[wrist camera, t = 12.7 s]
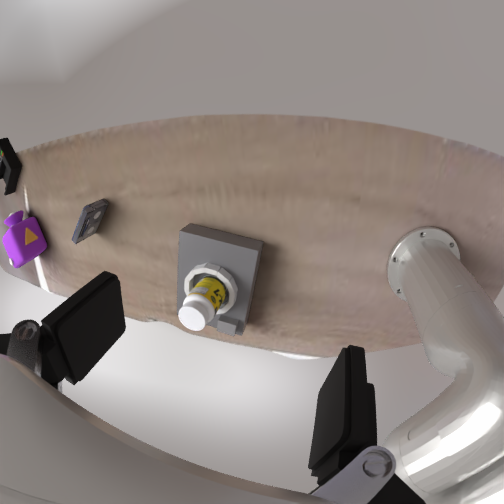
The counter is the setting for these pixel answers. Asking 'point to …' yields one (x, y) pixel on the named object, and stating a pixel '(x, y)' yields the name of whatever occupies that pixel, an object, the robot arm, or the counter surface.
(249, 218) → the counter surface
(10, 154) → the battery charger
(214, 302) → the supplement bottle
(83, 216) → the mini dv tape
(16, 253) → the toy camera
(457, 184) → the counter surface
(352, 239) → the counter surface
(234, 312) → the grey ring holder base
